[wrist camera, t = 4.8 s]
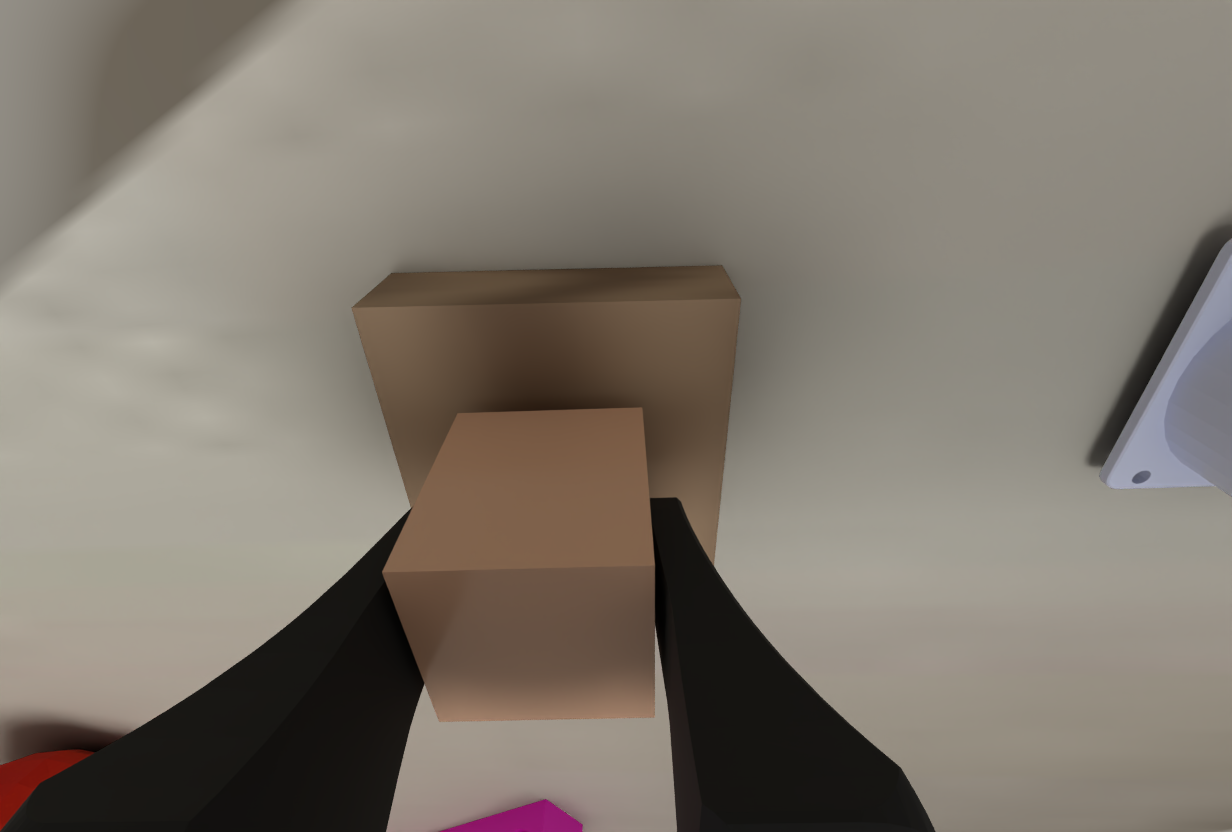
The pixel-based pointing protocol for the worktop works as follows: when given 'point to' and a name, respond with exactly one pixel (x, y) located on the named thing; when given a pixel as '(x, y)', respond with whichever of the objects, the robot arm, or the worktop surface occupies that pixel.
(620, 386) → the walnut block
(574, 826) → the toy block
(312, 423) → the worktop surface
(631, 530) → the terracotta block
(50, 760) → the tomato
